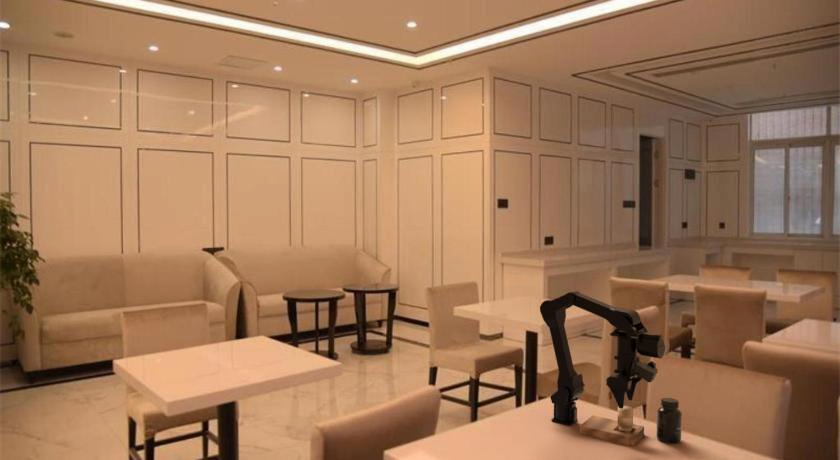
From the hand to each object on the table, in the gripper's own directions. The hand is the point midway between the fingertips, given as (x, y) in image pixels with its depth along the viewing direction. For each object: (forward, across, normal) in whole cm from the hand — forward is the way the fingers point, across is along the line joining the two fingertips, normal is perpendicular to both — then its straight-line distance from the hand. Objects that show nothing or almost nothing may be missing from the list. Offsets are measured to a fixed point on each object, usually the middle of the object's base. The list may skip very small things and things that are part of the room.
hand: (625, 404), depth 178 cm
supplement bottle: (+10, +6, -11) cm, 16 cm away
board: (+10, 0, +4) cm, 11 cm away
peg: (+10, 0, 0) cm, 10 cm away
